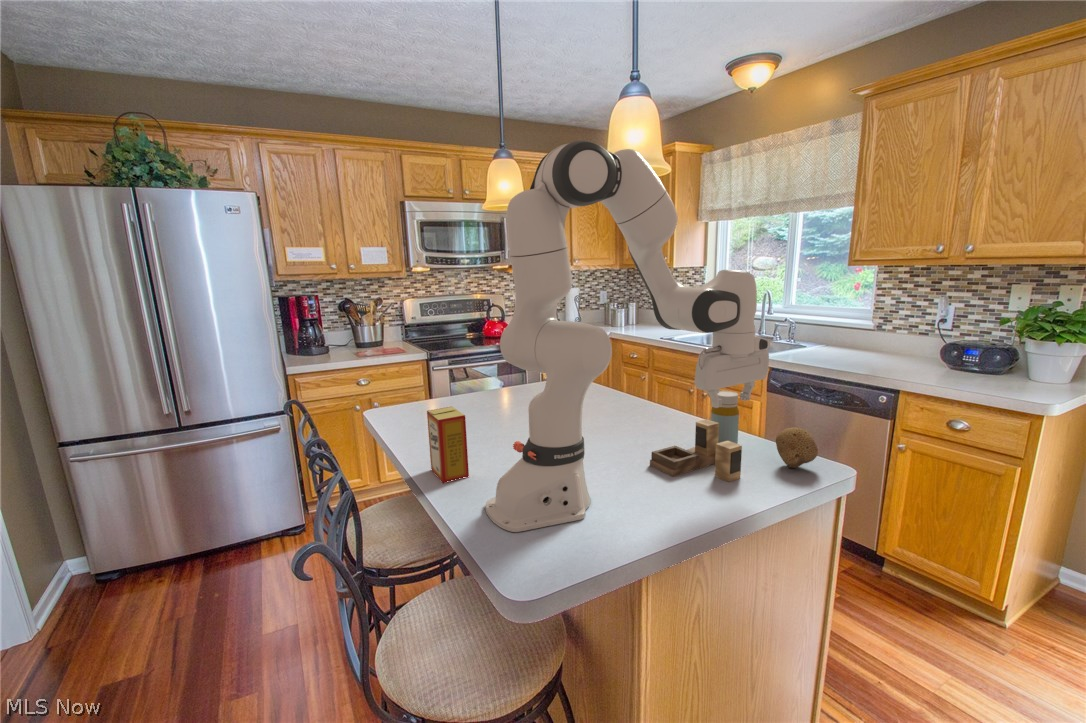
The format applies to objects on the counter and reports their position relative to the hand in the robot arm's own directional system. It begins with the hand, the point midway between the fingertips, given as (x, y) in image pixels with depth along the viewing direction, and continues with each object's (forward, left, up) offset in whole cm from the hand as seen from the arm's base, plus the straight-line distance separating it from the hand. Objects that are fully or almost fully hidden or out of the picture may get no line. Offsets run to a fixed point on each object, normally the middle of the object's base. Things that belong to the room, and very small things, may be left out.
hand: (730, 403), depth 111 cm
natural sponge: (+18, -5, -18) cm, 26 cm away
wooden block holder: (-1, +11, -18) cm, 21 cm away
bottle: (+15, +14, -18) cm, 27 cm away
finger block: (0, 0, -18) cm, 18 cm away
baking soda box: (-55, +38, -18) cm, 69 cm away
